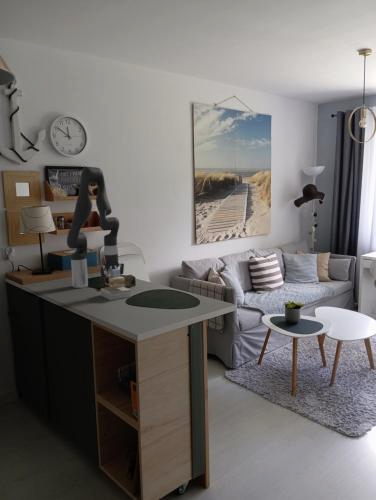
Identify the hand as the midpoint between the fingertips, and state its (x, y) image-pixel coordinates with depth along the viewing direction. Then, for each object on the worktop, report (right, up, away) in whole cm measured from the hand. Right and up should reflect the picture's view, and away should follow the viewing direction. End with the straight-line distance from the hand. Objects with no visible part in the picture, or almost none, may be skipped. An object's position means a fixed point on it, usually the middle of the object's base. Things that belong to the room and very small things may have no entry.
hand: (112, 282), depth 228 cm
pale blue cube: (+2, +4, -4) cm, 5 cm away
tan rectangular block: (+1, -1, -2) cm, 3 cm away
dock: (+2, -7, -2) cm, 8 cm away
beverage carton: (0, -4, +21) cm, 21 cm away
